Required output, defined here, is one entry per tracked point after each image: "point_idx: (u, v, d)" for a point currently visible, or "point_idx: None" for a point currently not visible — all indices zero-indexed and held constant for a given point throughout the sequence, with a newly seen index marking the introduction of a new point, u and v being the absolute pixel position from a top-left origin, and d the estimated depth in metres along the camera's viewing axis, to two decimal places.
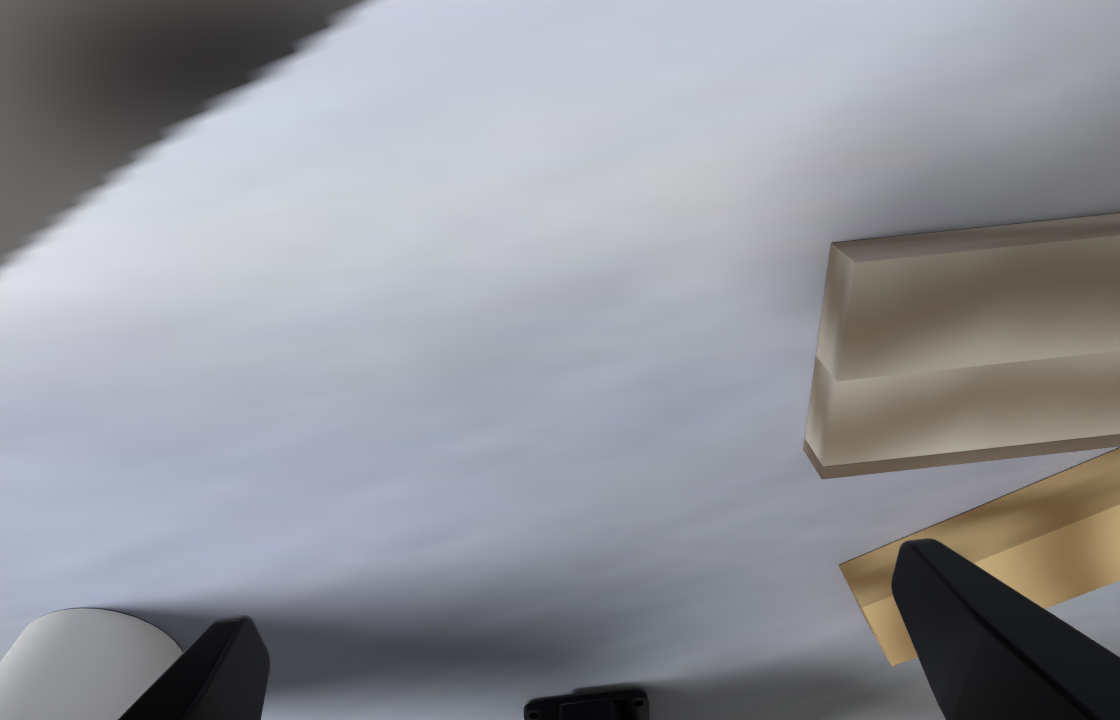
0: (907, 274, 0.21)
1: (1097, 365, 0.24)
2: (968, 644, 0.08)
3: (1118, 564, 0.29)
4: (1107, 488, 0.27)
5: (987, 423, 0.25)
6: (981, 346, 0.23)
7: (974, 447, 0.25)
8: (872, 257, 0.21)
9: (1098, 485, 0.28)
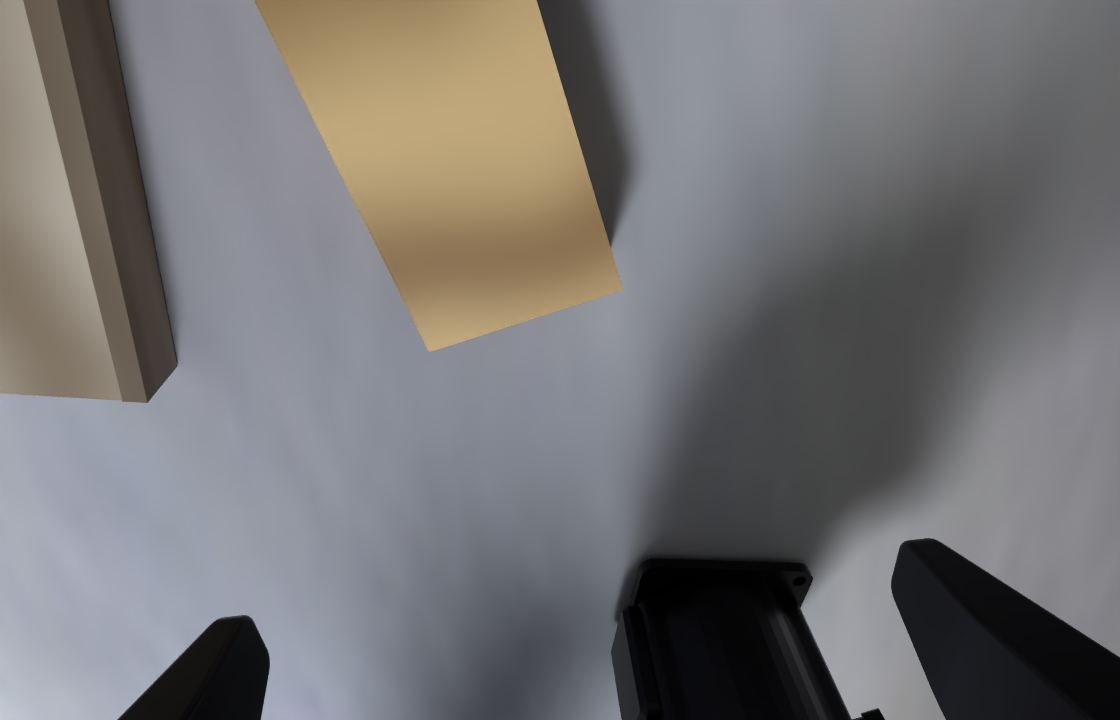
0: None
1: None
2: (968, 644, 0.08)
3: None
4: None
5: (0, 155, 0.14)
6: None
7: (59, 172, 0.14)
8: None
9: None
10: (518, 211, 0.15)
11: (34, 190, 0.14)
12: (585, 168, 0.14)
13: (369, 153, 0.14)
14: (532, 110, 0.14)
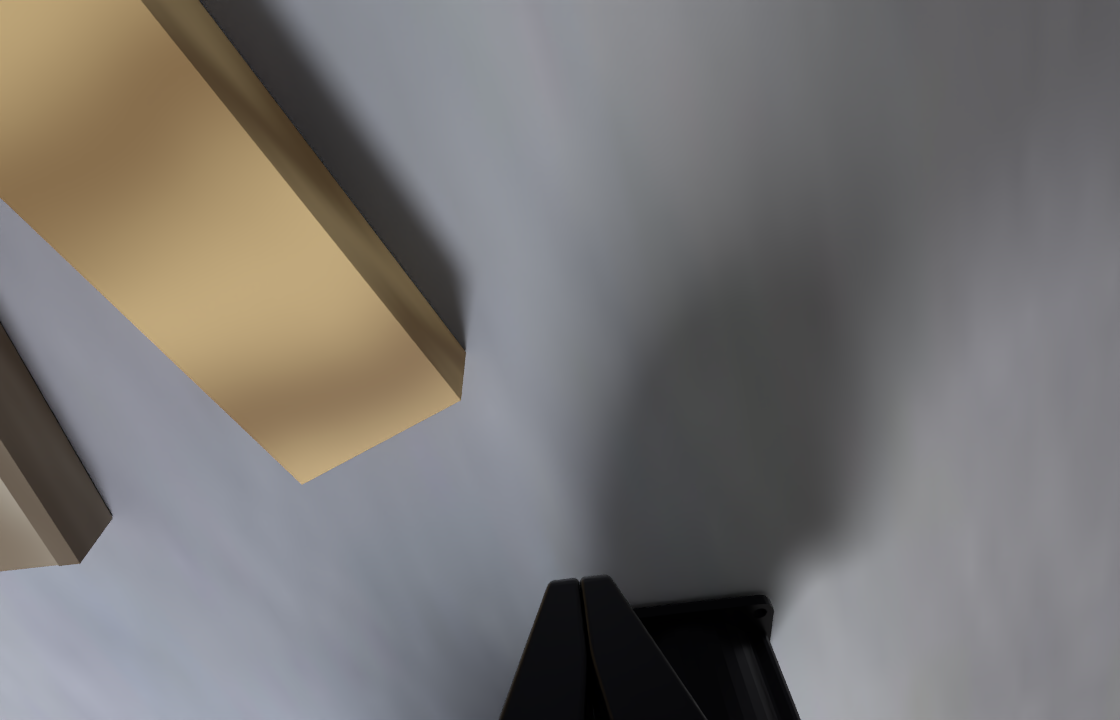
0: None
1: None
2: (594, 687, 0.08)
3: (75, 14, 0.12)
4: None
5: None
6: None
7: None
8: None
9: None
10: (336, 353, 0.16)
11: None
12: (383, 306, 0.15)
13: (184, 333, 0.15)
14: (315, 267, 0.14)
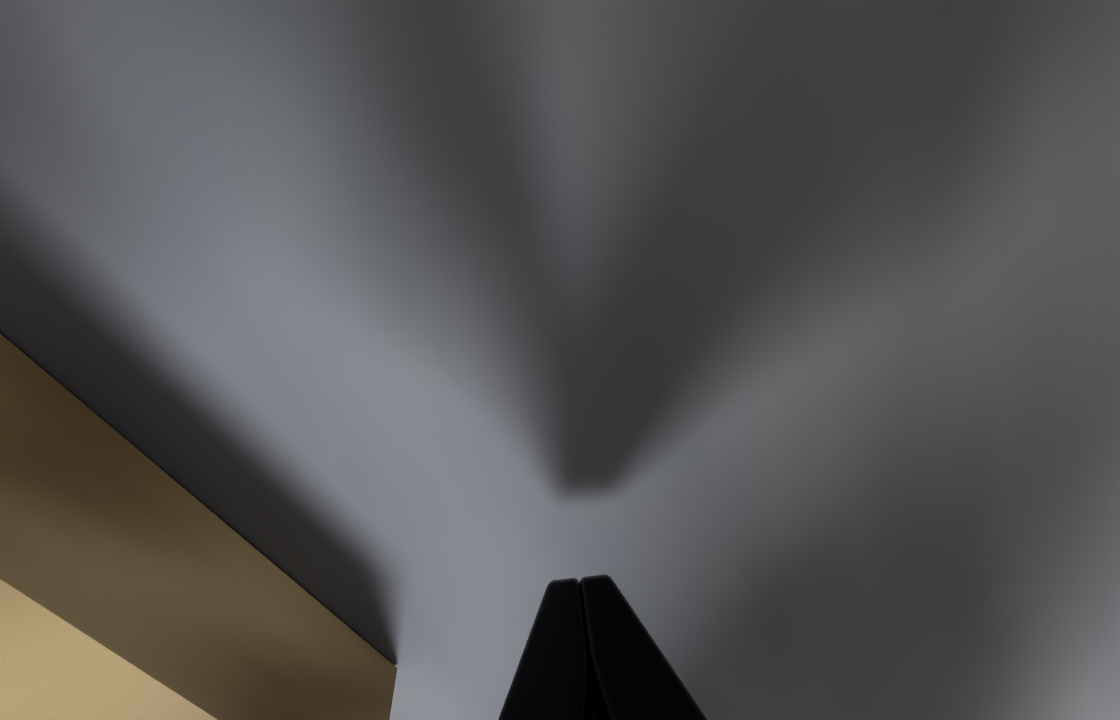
0: None
1: None
2: (593, 687, 0.08)
3: None
4: None
5: None
6: None
7: None
8: None
9: None
10: None
11: None
12: None
13: None
14: (67, 676, 0.07)
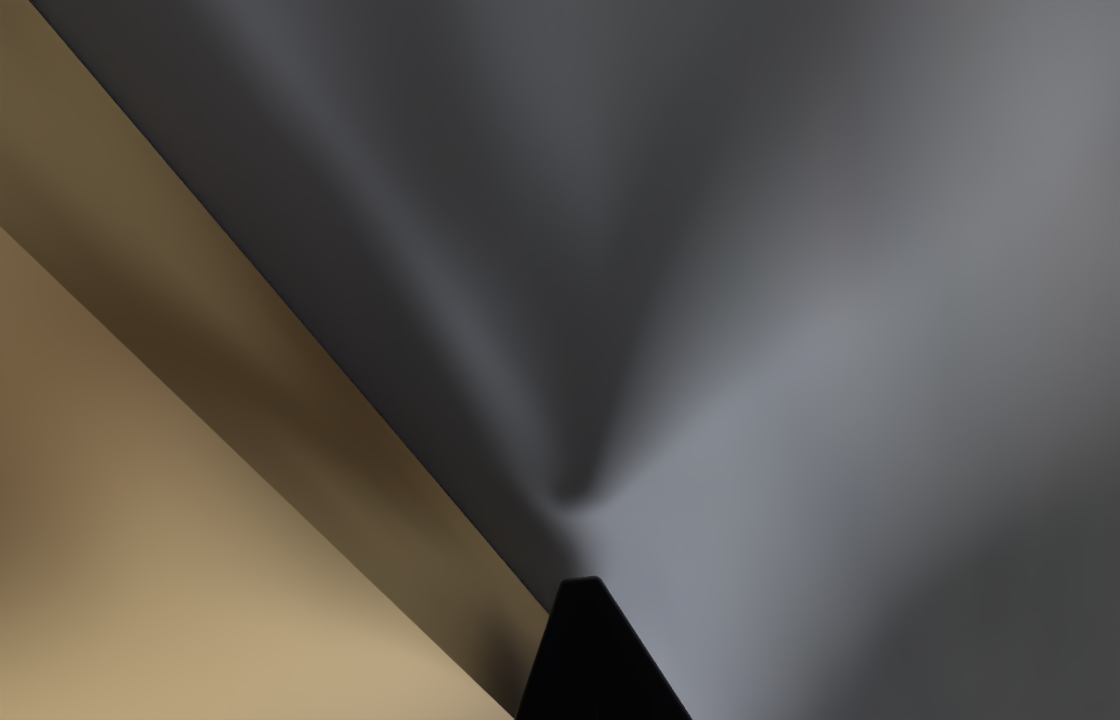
0: None
1: None
2: None
3: None
4: None
5: None
6: None
7: None
8: None
9: None
10: None
11: None
12: (494, 704, 0.08)
13: None
14: (372, 659, 0.07)
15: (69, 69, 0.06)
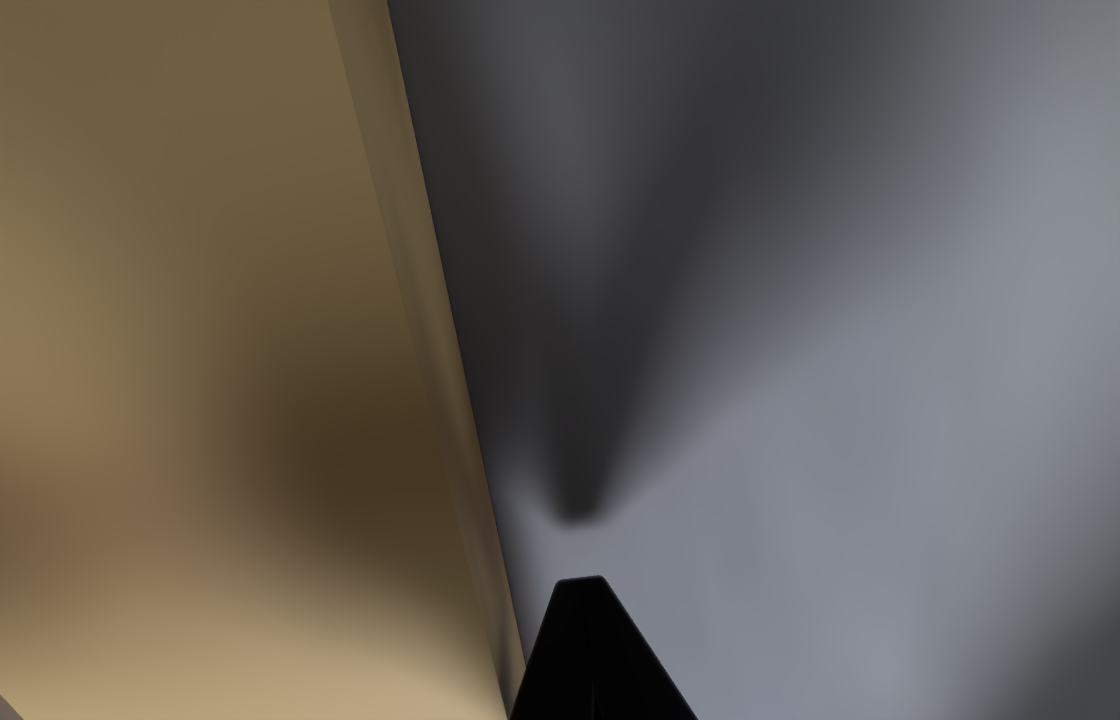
0: None
1: None
2: None
3: (237, 288, 0.05)
4: None
5: None
6: None
7: None
8: None
9: None
10: None
11: None
12: None
13: None
14: None
15: (415, 159, 0.06)
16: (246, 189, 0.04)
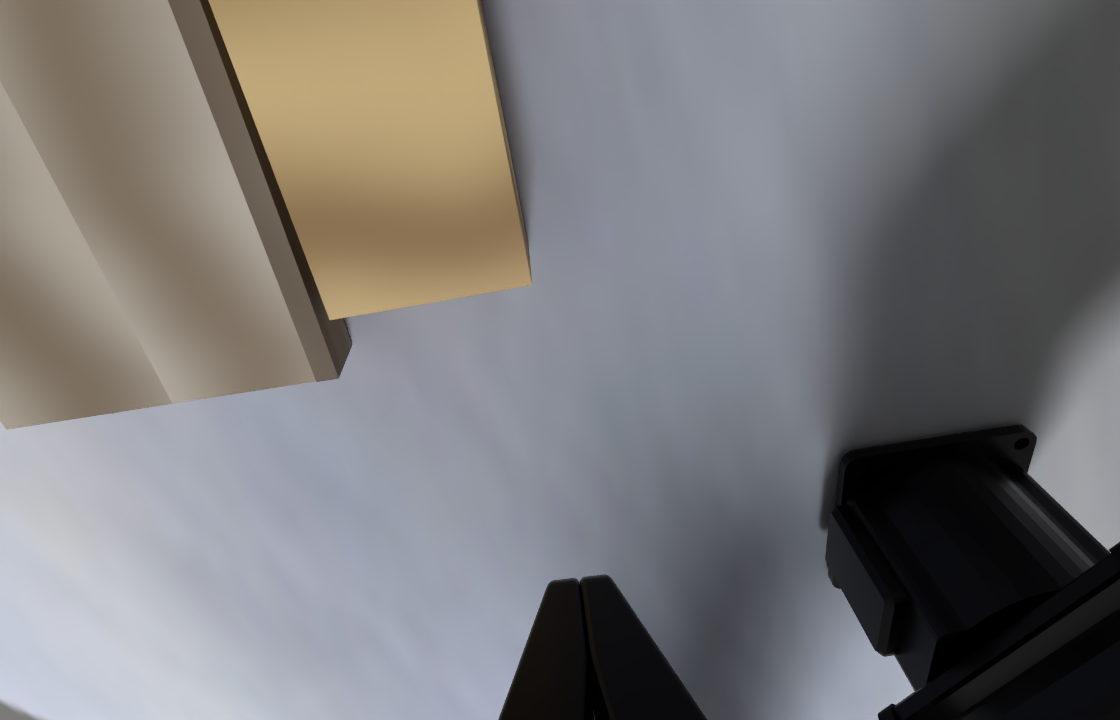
0: None
1: None
2: (594, 687, 0.08)
3: None
4: None
5: (170, 157, 0.14)
6: (41, 228, 0.15)
7: (224, 160, 0.15)
8: None
9: None
10: (435, 190, 0.15)
11: (205, 184, 0.15)
12: (506, 158, 0.14)
13: (287, 107, 0.14)
14: (459, 92, 0.14)
15: None
16: None
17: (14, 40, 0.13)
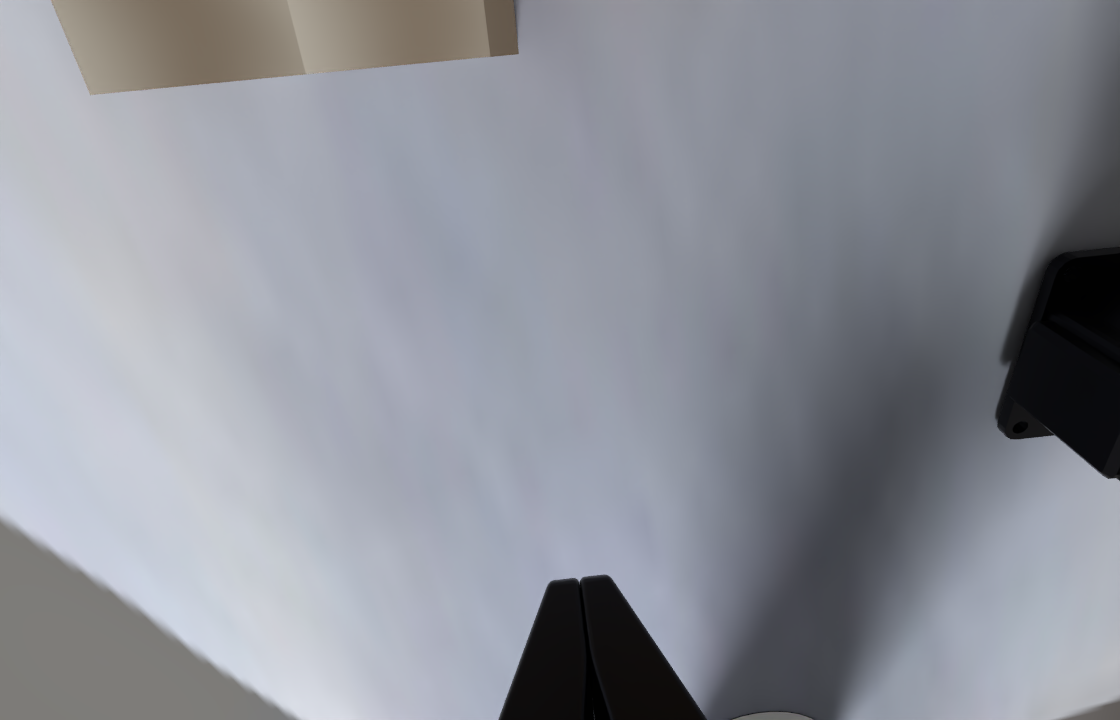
0: None
1: None
2: (594, 687, 0.08)
3: None
4: None
5: None
6: None
7: None
8: (83, 57, 0.14)
9: None
10: None
11: None
12: None
13: None
14: None
15: None
16: None
17: None
